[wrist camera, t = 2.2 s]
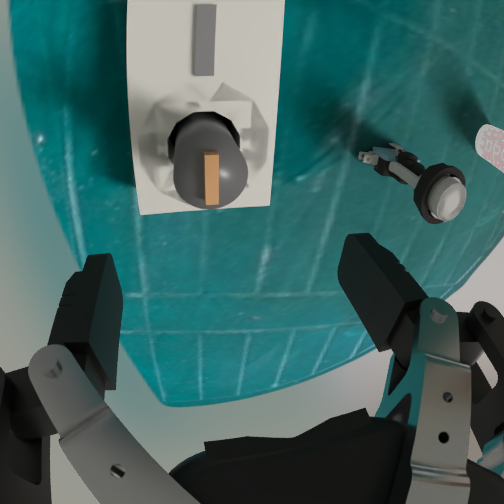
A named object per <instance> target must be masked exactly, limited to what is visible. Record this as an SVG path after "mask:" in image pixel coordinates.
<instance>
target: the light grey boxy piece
mask: <svg viewBox="0 0 504 504" xmlns="http://www.w3.org/2000/svg"><path fill="white" fill-rule="evenodd" d="M284 4H285V0H128V2H127V87H128V106H129V121H130V134H131V145H132V155H133V164H134V173H135V181H136V189H137V196H138V203H139V210H140V215H146V214H157V213H169V212H181V211H193V210H207V209H201V208H197V207H194V206H192V205H190V204H188V203H187V202H185V201H184V200H183V199H182V198H181V197H180V196H179V194H178V193H177V191H176V189H175V186H174V181H173V169H174V153H175V146H174V145H173V144H172V142H171V141H170V134H171V132H172V130H173V128H174V126H175V124H176V123H177V122H178V121H180V120H182V119H183V118H185V117H186V116H188V115H190V114H191V113H193V112H206V111H215V112H216V113H218V114H220V115H222V116H224V117H226V118H228V119H229V120H230V121H231V136H232V137H233V139H234V141H235V143H236V144H237V146H238V148H239V150H240V151H241V153H242V155H243V157H244V159H245V161H246V163H247V167H248V180H247V183H246V186H245V188H244V190H243V192H242V193H241V194H240V195H239V197H238V198H237V199H235V200H234V201H233V202H231V203H230V204H228V205H226V206H224V207H221V208H237V207H254V206H270V195H271V183H272V171H273V159H274V146H275V134H276V121H277V107H278V94H279V80H280V66H281V51H282V36H283V20H284ZM221 208H217V209H221Z"/></svg>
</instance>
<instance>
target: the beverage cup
mask: <svg viewBox="0 0 504 504" xmlns="http://www.w3.org/2000/svg"><path fill="white" fill-rule="evenodd" d="M475 148H476V151H477V153H478V154H479V155H480V156H481V157H483V158H484V159H486V160H487V161H488V162H490V163H491V164H492V165H494V166H495V167H496V168H498V169H499V170H500V171H502V172H503V173H504V131H503V130H501V129H499V128H496V127H494V126H491V125H488V124H486V125H483V126H482V127H481V128H480V129H479V131H478V133H477V136H476V141H475Z"/></svg>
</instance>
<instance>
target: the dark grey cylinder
mask: <svg viewBox="0 0 504 504" xmlns="http://www.w3.org/2000/svg"><path fill="white" fill-rule="evenodd" d="M247 180H248V167H247V163H246V161H245V159H244V157H243V155H242V153H241V151H240V150H239V148H238V146H237V144H236V143H235V141H234V139H233V137H232V136H231V134H230V132H229V130H228V129H227V127H226V125H225V123H224V122H223V120H222V118H221V117H220V116H219V115H218V114H217V113H216V112H215V111H206V112H193V113H191V114H190V115H188V116H186V117H185V118H183V119H182V120H180V121H179V122H178V124H177V128H176V139H175V153H174V169H173V181H174V186H175V189H176V191H177V193H178V194H179V196H180V197H181V198H182V199H183V200H184V201H185V202H187V203H188V204H190V205H192V206H194V207H197V208H201V209H217V208H221V207H224V206H226V205H228V204H230V203H231V202H233V201H234V200H235V199H237V198H238V197H239V195H240V194H241V193H242V192H243V190H244V188H245V186H246V183H247Z"/></svg>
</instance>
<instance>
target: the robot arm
mask: <svg viewBox="0 0 504 504" xmlns="http://www.w3.org/2000/svg"><path fill="white" fill-rule="evenodd" d="M338 280H339V283H340V285H341V287H342V289H343V290H344V292H345V294H346V295H347V297H348V299H349V300H350V302H351V304H352V306H353V307H354V309H355V311H356V312H357V314H358V316H359V318H360V319H361V321H362V323H363V324H364V326H365V328H366V330H367V331H368V333H369V335H370V337H371V339H372V340H373V342H374V344H375V346H376V347H377V349H378V351H379V352H382V351H385V350H388V349H392V351H393V352H394V353H393V355H392V357H391V359H390V364H389V369H388V375H387V380H386V384H385V389H384V393H383V398H382V401H381V404H380V407H379V408H378V410H377V412H376V414H375V416H374V417H369V415H368V413H367V411H366V408H363V409H360V410H357V411H353V412H351V413H347V414H343V415H340V416H337V417H333V418H330V419H328V420H326V421H325V422H323V423H321V424H319V425H318V426H315V427H314V428H312V429H310V430H308V431H306V432H304V433H302V434H300V435H298V436H296V437H293V438H268V437H267V438H266V437H249V436H246V437H240V438H233V439H225V440H218V441H208V442H204V445H205V451H203V452H200V453H198V454H196V455H193V456H192V457H189V458H187V459H186V460H184V461H183V462H181V463H180V464H178V465H177V466H176V467H175V468H173V469H172V470H171V471H170V472H169V473H167V472H166V471H165V470H164V469H163V468H162V467H161V466H160V465H159V464H158V463H157V462H156V461H155V460H154V459H153V458H152V457H151V456H150V455H149V453H147V451H146V450H145V449H144V448H143V447H142V446H141V445H140V444H139V442H138V441H137V440H136V439H135V438H134V437H133V436H132V434H131V433H130V432H129V431H128V430H127V428H126V427H125V426H124V425H123V424H122V422H121V421H120V420H119V419H118V418H117V417H116V415H115V414H114V413H113V411H112V410H111V409H110V408H109V406H108V405H107V404H106V403H105V401H104V394H105V390H116V376H117V361H118V347H119V337H120V328H121V319H122V310H123V296H122V290H121V286H120V283H119V279H118V276H117V272H116V269H115V265H114V261H113V258H112V255H111V254H110V253H106V254H95V255H88V257H87V259H86V262H85V265H84V268H83V271H79V272H75V273H74V274H73V275H72V276H71V278H70V279H69V280H68V281H67V282H66V285H65V288H64V291H63V294H62V298H61V300H60V303H59V308H58V310H57V313H56V316H55V319H54V323H53V326H52V330H51V334H50V338H49V341H48V345H47V346H45V347H43V348H41V349H40V350H38V351H37V352H36V353H35V354H34V356H33V357H32V359H31V360H30V363H29V366H28V367H25V368H22V369H18V370H15V371H12V372H9V373H5V372H4V371H3V370H2V368H1V367H0V504H52V502H51V485H50V435H53V434H56V433H59V435H60V439H59V444H60V446H61V448H62V450H63V452H64V453H65V455H66V456H67V458H68V460H69V461H70V462H71V464H72V465H73V467H74V468H75V470H76V471H77V473H78V474H79V476H80V477H81V478H82V480H83V481H84V483H85V484H86V485H87V487H88V488H89V489H90V491H91V492H92V493H93V495H94V496H95V497H96V498H97V500H98V501H99V502H100V504H504V317H503V316H502V315H501V313H500V312H499V311H498V310H497V309H496V308H495V307H494V306H493V305H491V304H489V303H487V302H484V301H479V302H477V303H475V305H474V306H473V308H472V310H471V311H470V313H467V312H456V311H455V310H454V309H453V307H452V306H451V305H450V304H448V303H447V302H446V301H444V300H442V299H440V298H435V297H430V298H429V297H428V296H427V295H426V293H425V292H424V291H423V290H422V288H421V287H420V286H419V284H418V283H417V282H416V281H415V280H414V278H413V277H412V276H411V275H410V273H409V272H407V271H406V268H405V267H404V266H403V265H402V264H400V261H399V260H398V259H397V258H396V257H395V255H394V254H393V253H392V252H390V251H389V250H387V249H386V248H384V247H383V246H381V245H379V244H378V243H377V241H376V240H375V239H374V238H373V237H372V236H371V235H370V234H369V233H357V234H348V235H347V237H346V239H345V243H344V247H343V251H342V255H341V258H340V262H339V266H338ZM483 352H485V353H486V355H487V357H488V358H489V360H490V361H491V363H492V365H493V366H494V368H495V370H496V371H497V374H498V382H497V384H496V386H495V387H494V388H493V389H492V388H491V386H490V384H489V383H488V381H487V379H486V377H485V376H484V374H483V372H482V370H481V369H480V367H479V366H478V364H477V362H476V361H477V360H478V359H479V357H480V356H481V355H482V354H483ZM470 426H471V429H472V431H473V433H474V435H475V437H476V440H477V442H478V444H479V446H480V449H481V451H482V457H480V458H479V459H478V461H477V463H475V462H473V461H471V460H469V459H467V455H468V446H469V434H470Z"/></svg>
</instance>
